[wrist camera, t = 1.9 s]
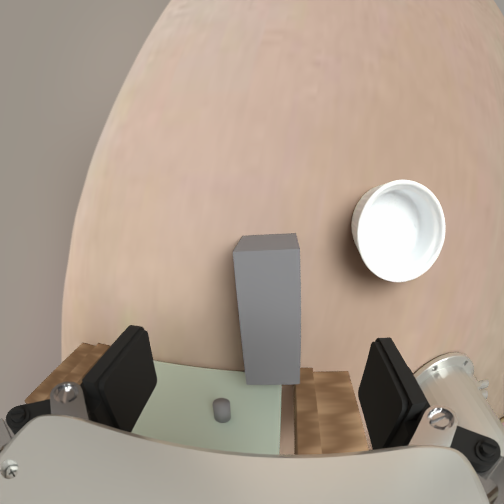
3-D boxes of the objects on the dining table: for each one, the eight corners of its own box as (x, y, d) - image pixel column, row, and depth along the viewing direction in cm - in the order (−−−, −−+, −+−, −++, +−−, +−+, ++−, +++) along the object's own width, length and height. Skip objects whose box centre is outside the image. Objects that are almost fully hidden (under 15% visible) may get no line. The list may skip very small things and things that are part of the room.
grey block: (295, 232, 27) (299, 248, 21) (297, 349, 30) (299, 384, 24) (242, 235, 27) (232, 251, 21) (252, 350, 31) (246, 384, 25)
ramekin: (373, 161, 24) (389, 159, 20) (438, 209, 24) (460, 216, 20) (328, 240, 26) (337, 252, 22) (396, 281, 27) (412, 298, 23)
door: (283, 360, 30) (280, 455, 17) (281, 381, 31) (277, 473, 18) (107, 339, 32) (50, 400, 19) (113, 359, 33) (61, 421, 20)
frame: (348, 367, 30) (374, 462, 16) (345, 382, 30) (366, 475, 17) (82, 339, 33) (22, 396, 20) (86, 352, 34) (30, 411, 20)
